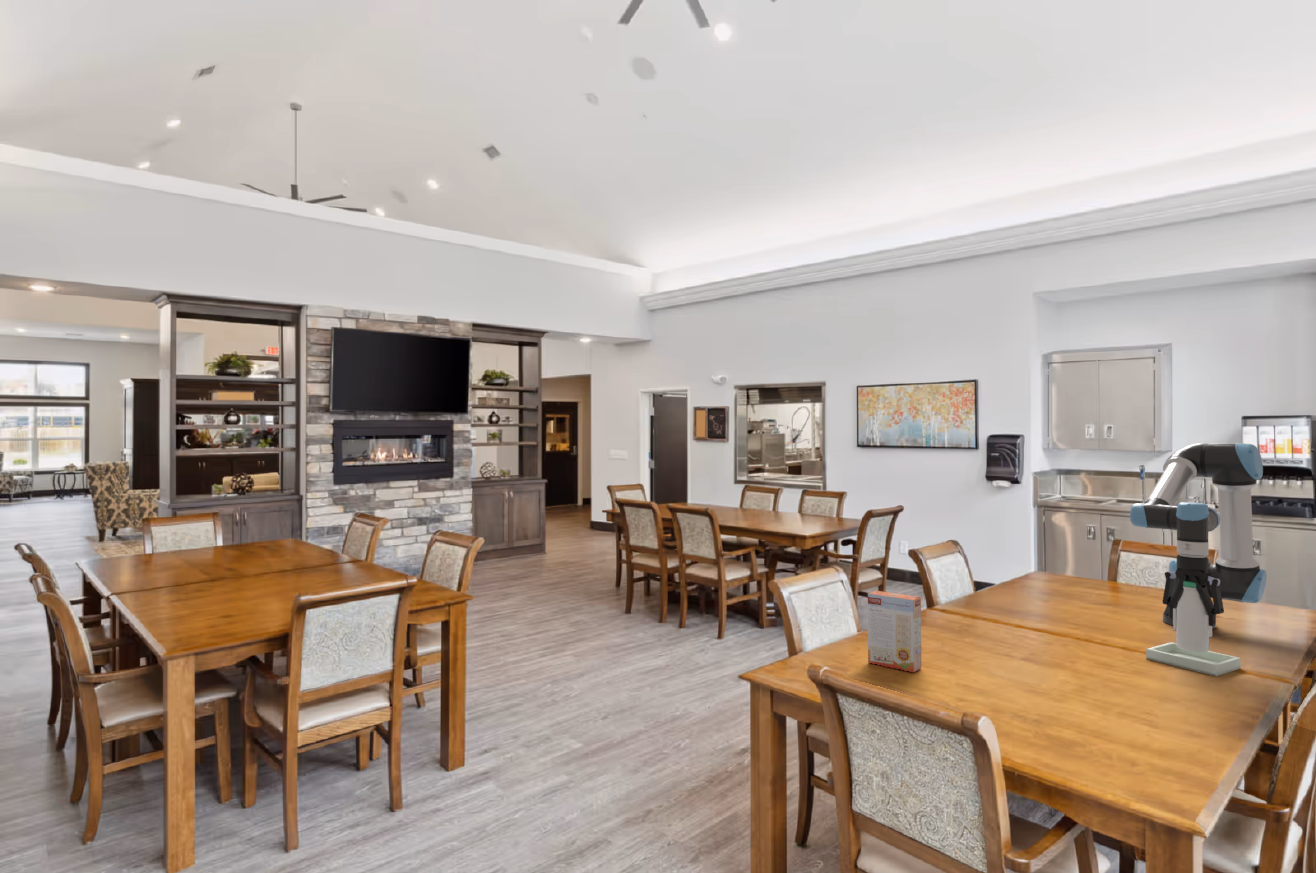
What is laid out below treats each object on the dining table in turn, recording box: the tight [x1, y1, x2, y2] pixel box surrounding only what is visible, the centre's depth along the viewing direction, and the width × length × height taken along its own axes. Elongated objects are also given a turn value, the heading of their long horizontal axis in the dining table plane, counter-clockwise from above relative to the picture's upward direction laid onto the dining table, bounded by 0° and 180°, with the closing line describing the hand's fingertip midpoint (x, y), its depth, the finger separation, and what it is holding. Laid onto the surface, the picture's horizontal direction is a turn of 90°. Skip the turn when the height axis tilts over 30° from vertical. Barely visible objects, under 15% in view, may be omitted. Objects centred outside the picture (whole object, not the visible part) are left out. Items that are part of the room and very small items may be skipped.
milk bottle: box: [1175, 581, 1210, 652], centre depth 210 cm, size 8×8×20 cm
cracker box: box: [867, 590, 922, 673], centre depth 209 cm, size 14×6×21 cm, turn 47°
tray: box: [1145, 641, 1242, 677], centre depth 210 cm, size 14×18×3 cm
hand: (1192, 632), depth 210 cm, fingers closed on milk bottle, 7 cm apart
